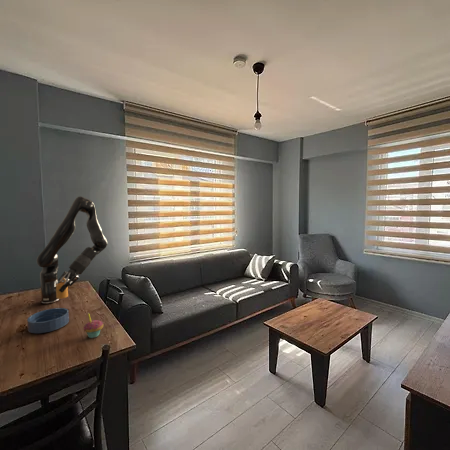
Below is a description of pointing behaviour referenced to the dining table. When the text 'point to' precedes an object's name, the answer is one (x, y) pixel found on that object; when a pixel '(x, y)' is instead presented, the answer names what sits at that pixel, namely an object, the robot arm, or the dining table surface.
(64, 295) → the orange cylinder
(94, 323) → the cupcake
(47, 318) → the bowl
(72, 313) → the dining table surface
